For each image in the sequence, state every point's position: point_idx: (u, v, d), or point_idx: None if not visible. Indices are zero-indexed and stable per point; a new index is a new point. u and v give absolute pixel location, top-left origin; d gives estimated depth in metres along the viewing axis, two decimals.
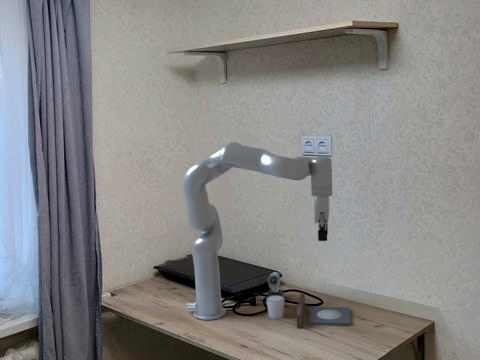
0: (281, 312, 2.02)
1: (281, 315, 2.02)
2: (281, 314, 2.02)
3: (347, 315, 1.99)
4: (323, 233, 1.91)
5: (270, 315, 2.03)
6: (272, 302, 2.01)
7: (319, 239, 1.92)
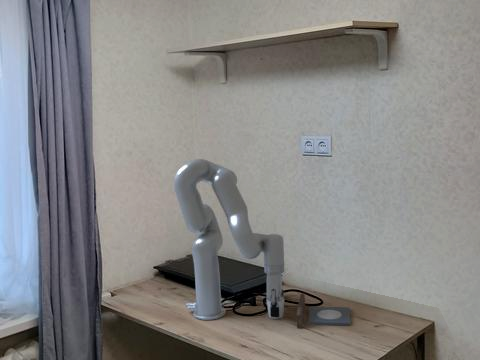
0: (281, 312, 2.02)
1: (281, 315, 2.02)
2: (281, 314, 2.02)
3: (347, 315, 1.99)
4: (275, 310, 2.00)
5: (270, 315, 2.03)
6: None
7: (271, 315, 2.01)
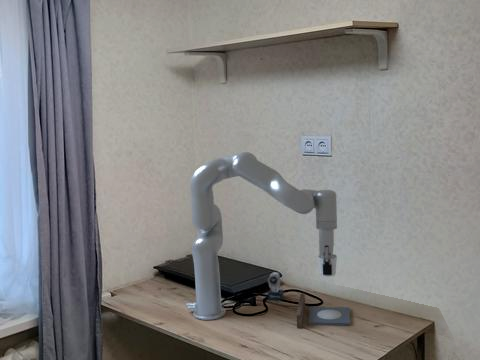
0: (333, 270, 1.96)
1: (333, 273, 1.96)
2: (333, 272, 1.96)
3: (347, 315, 1.99)
4: (328, 267, 1.94)
5: (322, 273, 1.97)
6: None
7: (324, 273, 1.95)
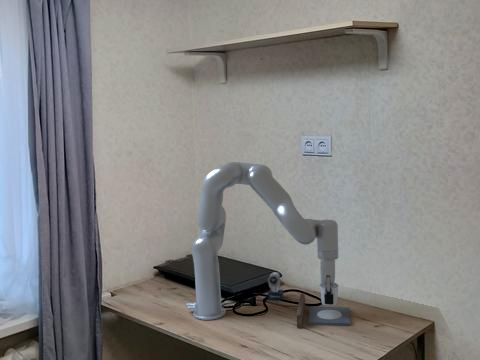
0: (335, 299, 1.98)
1: (335, 302, 1.98)
2: (335, 301, 1.98)
3: (347, 315, 1.99)
4: (329, 297, 1.95)
5: (324, 302, 1.98)
6: None
7: (325, 302, 1.96)
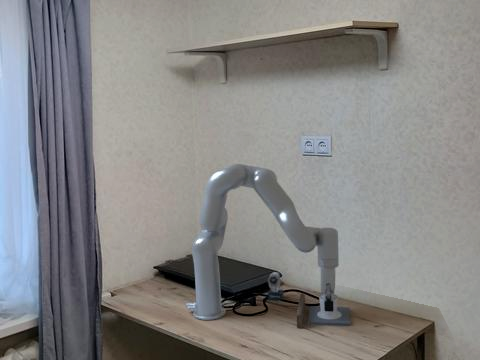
0: (334, 311, 1.98)
1: (334, 314, 1.98)
2: (334, 313, 1.98)
3: (347, 315, 1.99)
4: (329, 304, 1.94)
5: (323, 314, 1.99)
6: None
7: (325, 309, 1.95)
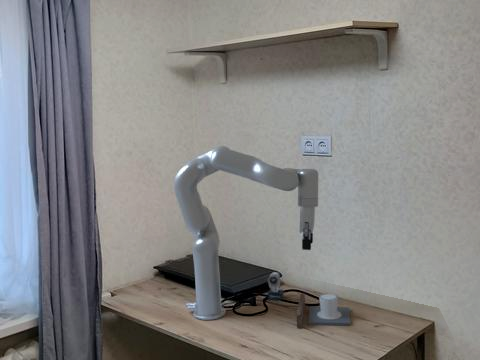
0: (335, 311, 1.98)
1: (334, 314, 1.98)
2: (334, 313, 1.98)
3: (347, 315, 1.99)
4: (307, 242, 1.98)
5: (323, 314, 1.99)
6: (326, 300, 1.97)
7: (303, 248, 2.00)
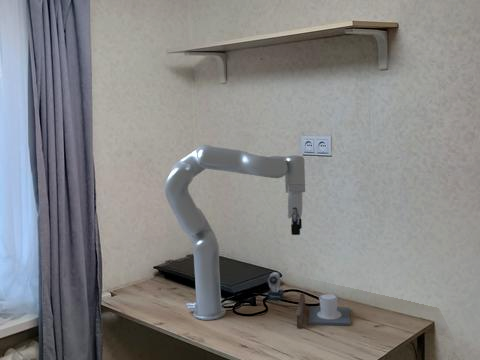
0: (335, 311, 1.98)
1: (334, 314, 1.98)
2: (334, 313, 1.98)
3: (347, 315, 1.99)
4: (296, 227, 2.02)
5: (323, 314, 1.99)
6: (326, 300, 1.97)
7: (292, 233, 2.04)
